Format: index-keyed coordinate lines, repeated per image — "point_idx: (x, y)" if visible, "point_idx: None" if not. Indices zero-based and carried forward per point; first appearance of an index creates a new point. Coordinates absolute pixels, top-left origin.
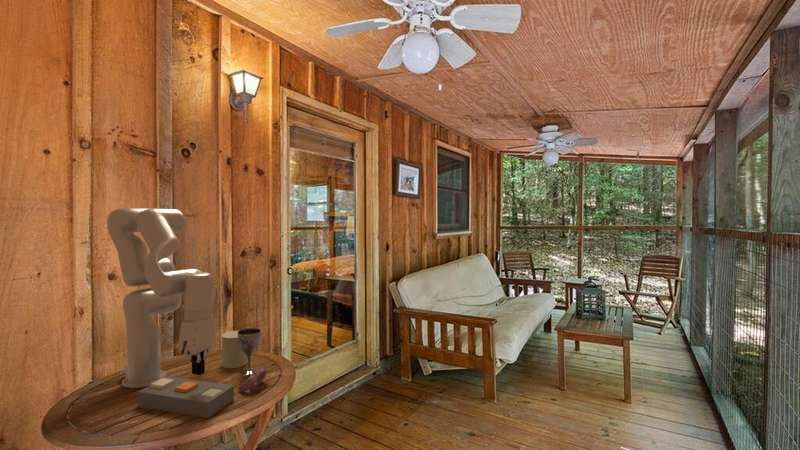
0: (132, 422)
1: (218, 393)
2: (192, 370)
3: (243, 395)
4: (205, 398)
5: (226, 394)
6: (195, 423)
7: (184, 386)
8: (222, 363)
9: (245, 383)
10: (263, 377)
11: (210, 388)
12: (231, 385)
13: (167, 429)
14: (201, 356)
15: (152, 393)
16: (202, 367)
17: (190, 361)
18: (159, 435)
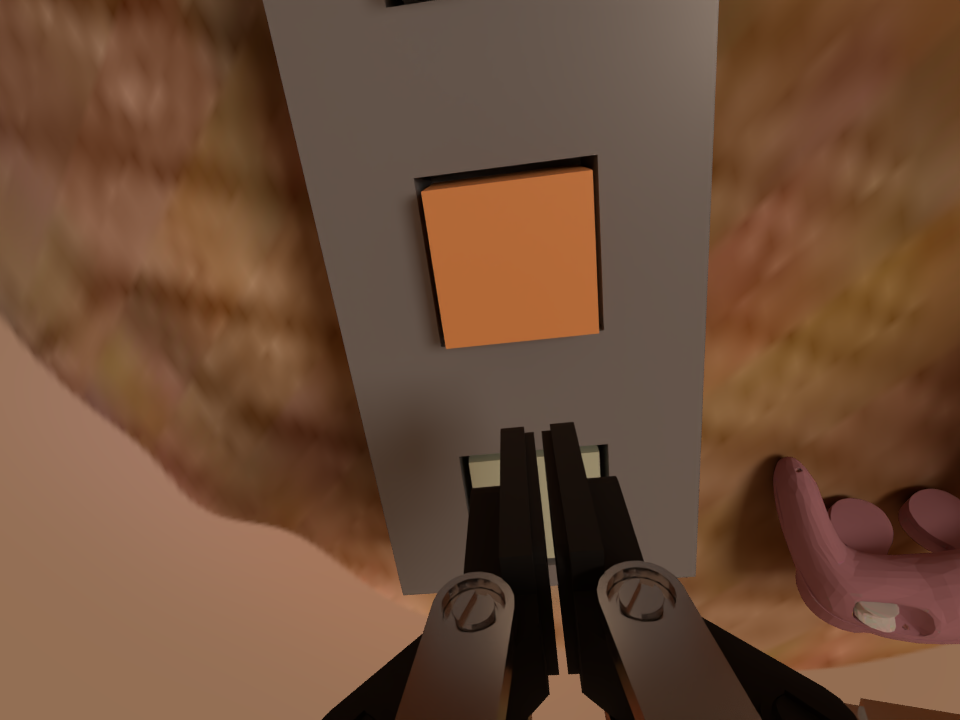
0: (122, 97)
1: (548, 555)
2: (470, 501)
3: (736, 510)
4: (438, 541)
5: None
6: (347, 496)
7: (485, 266)
8: None
9: (808, 555)
10: None
11: (595, 451)
12: (692, 560)
13: (222, 409)
14: (623, 709)
15: None
16: (559, 596)
17: (441, 592)
18: (163, 420)
